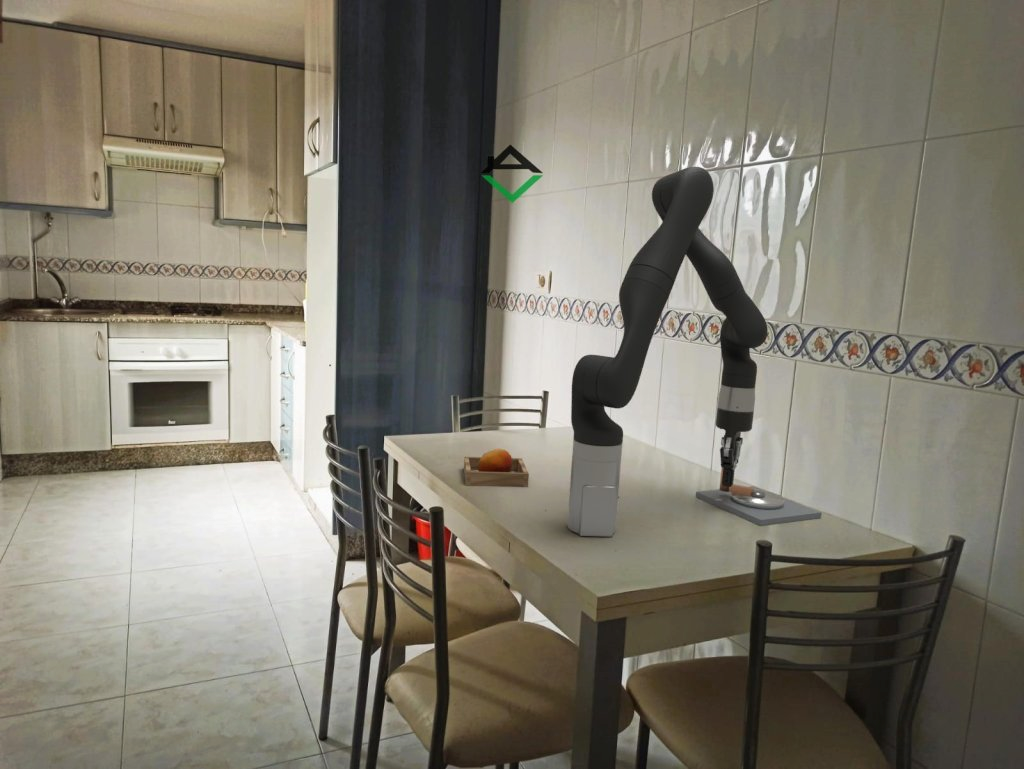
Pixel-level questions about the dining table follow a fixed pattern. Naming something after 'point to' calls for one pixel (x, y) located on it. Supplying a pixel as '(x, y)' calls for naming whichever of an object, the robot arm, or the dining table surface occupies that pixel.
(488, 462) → the fruit
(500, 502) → the dining table surface
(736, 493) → the silver and copper crank
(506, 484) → the wooden tray
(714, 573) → the dining table surface
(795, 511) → the plate
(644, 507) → the dining table surface
